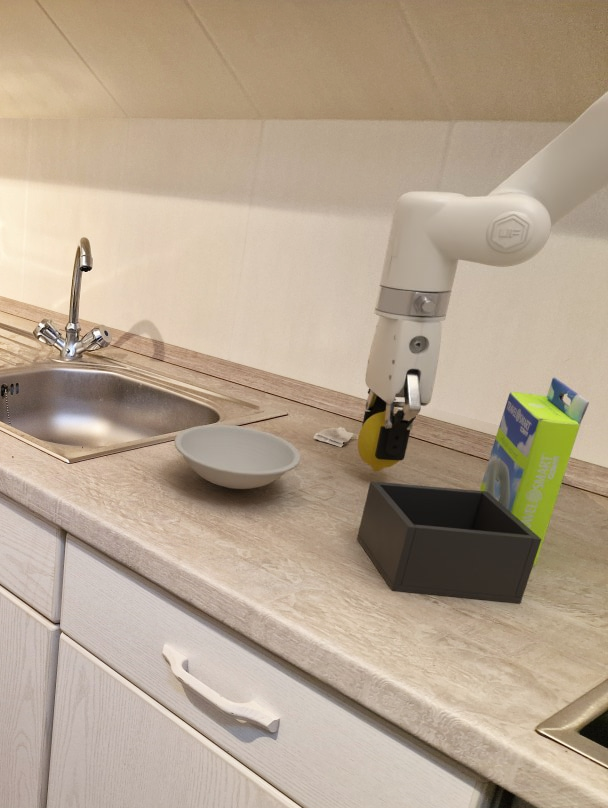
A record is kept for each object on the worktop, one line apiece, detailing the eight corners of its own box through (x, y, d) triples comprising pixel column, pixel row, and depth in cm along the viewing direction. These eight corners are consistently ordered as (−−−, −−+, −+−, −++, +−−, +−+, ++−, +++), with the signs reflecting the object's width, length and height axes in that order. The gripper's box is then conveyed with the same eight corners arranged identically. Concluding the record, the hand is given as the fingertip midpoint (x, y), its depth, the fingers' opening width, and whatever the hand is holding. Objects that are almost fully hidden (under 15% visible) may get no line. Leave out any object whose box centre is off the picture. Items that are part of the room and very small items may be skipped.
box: (468, 521, 96) (512, 371, 89) (509, 527, 95) (556, 376, 88) (493, 561, 86) (544, 397, 80) (539, 568, 85) (594, 403, 79)
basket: (470, 549, 89) (487, 491, 86) (520, 603, 78) (542, 539, 76) (356, 538, 90) (370, 480, 88) (391, 590, 80) (408, 526, 77)
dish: (295, 524, 93) (304, 481, 91) (162, 503, 97) (168, 461, 95) (290, 470, 109) (297, 433, 107) (175, 454, 112) (180, 418, 111)
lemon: (350, 461, 110) (362, 401, 107) (397, 467, 108) (411, 406, 105) (353, 475, 105) (366, 413, 102) (403, 481, 103) (417, 418, 100)
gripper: (476, 318, 90) (438, 477, 97) (419, 293, 106) (389, 431, 113) (402, 315, 91) (369, 472, 98) (356, 291, 107) (330, 428, 114)
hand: (380, 449), depth 105 cm, fingers closed on lemon, 5 cm apart
